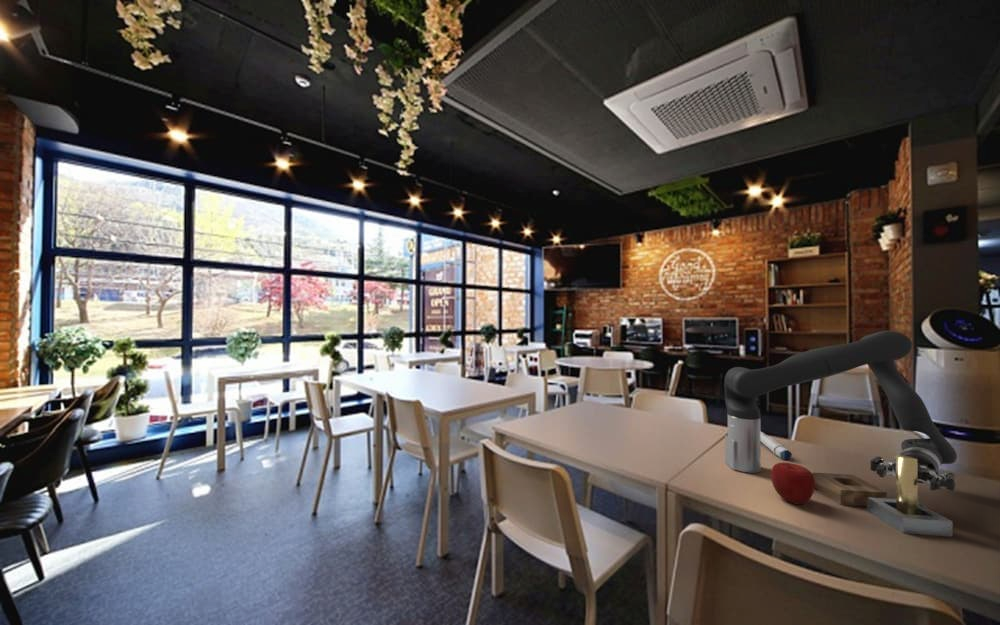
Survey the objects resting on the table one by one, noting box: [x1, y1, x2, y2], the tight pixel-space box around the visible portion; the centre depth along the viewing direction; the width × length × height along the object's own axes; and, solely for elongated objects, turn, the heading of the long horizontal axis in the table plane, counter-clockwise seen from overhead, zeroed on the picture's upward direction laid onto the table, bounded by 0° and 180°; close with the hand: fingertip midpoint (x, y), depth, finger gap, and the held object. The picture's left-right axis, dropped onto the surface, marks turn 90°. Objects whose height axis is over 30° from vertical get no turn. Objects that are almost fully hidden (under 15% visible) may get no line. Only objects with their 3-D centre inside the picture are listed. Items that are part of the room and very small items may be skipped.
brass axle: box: [895, 454, 919, 515], centre depth 91 cm, size 4×4×16 cm
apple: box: [770, 462, 816, 505], centre depth 102 cm, size 10×10×10 cm
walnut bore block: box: [811, 471, 888, 507], centre depth 105 cm, size 11×11×4 cm
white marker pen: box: [760, 430, 793, 461], centre depth 143 cm, size 5×7×25 cm
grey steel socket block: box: [866, 497, 954, 538], centre depth 91 cm, size 10×10×4 cm
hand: (906, 479), depth 90 cm, fingers open, 8 cm apart
